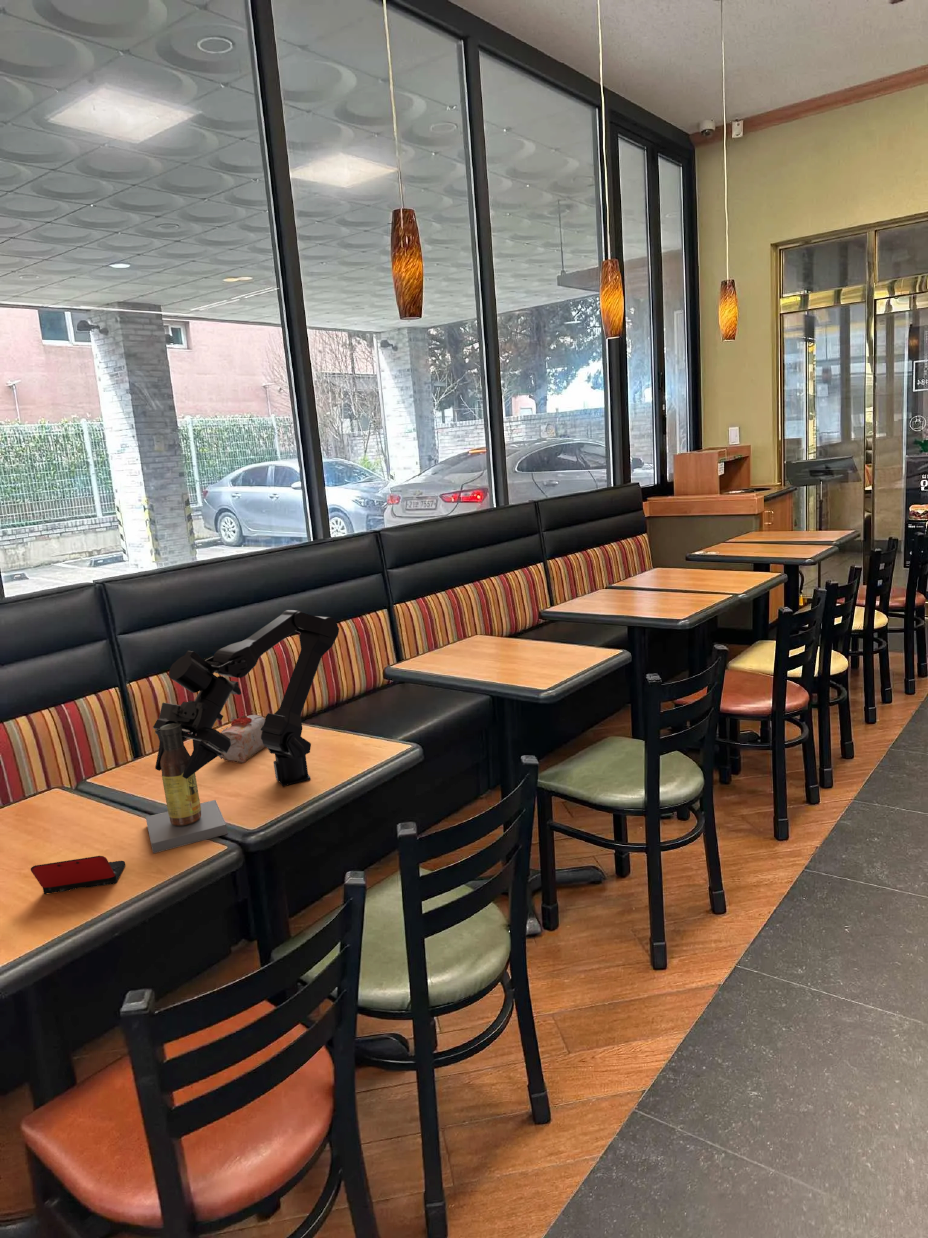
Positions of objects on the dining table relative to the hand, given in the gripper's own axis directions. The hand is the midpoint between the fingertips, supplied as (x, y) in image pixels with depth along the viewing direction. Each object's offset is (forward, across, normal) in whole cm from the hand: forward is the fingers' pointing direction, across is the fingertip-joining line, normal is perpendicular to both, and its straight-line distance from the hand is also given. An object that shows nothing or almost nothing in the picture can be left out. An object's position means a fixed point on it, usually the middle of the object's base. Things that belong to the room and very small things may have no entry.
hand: (170, 773), depth 164 cm
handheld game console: (+24, +2, -6) cm, 25 cm away
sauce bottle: (+6, 0, +9) cm, 11 cm away
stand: (+8, 0, +10) cm, 13 cm away
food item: (-16, -24, +34) cm, 44 cm away
